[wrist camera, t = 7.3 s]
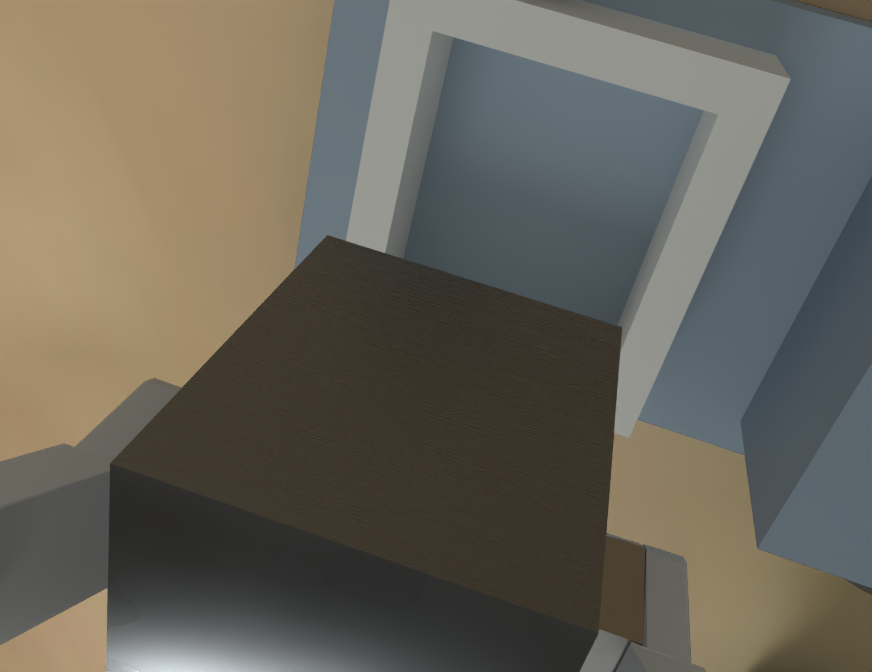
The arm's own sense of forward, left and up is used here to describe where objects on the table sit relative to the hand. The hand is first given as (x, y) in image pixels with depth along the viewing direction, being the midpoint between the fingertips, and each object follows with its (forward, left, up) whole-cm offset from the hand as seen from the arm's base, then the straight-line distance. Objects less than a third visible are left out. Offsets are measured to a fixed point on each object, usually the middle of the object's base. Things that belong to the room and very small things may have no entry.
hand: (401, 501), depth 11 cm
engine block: (0, 0, -2) cm, 2 cm away
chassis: (-5, 0, -13) cm, 14 cm away
